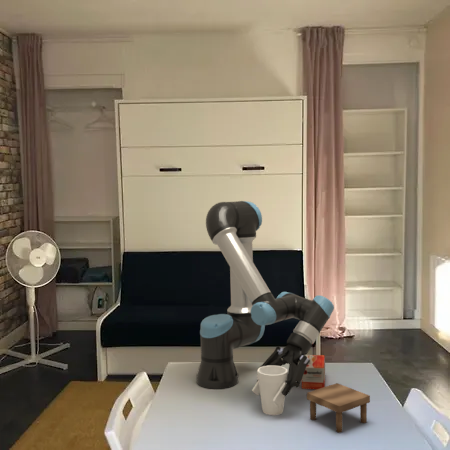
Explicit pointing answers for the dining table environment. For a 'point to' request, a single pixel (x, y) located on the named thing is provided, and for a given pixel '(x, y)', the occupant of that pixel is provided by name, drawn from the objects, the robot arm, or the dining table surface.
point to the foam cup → (271, 387)
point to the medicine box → (314, 372)
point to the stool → (338, 402)
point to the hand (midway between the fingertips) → (265, 398)
